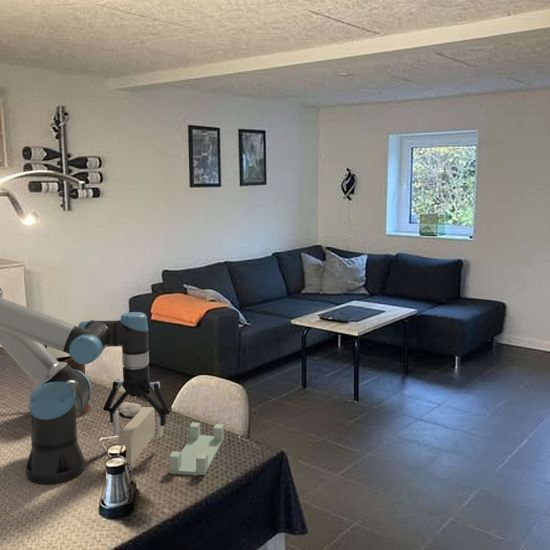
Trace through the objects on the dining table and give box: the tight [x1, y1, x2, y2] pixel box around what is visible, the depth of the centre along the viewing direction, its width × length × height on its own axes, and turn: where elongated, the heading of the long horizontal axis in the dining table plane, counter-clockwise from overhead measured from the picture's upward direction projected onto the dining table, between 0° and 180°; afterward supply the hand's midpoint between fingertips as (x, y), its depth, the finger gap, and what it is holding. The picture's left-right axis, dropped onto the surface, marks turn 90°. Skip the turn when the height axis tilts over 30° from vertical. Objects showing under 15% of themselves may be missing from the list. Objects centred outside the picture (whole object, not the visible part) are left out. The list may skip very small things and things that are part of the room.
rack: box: [168, 421, 225, 476], centre depth 172 cm, size 23×10×5 cm, turn 172°
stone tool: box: [118, 401, 144, 418], centre depth 203 cm, size 8×3×15 cm
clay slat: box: [117, 406, 156, 465], centre depth 176 cm, size 20×4×9 cm, turn 172°
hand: (138, 434), depth 176 cm, fingers open, 13 cm apart
